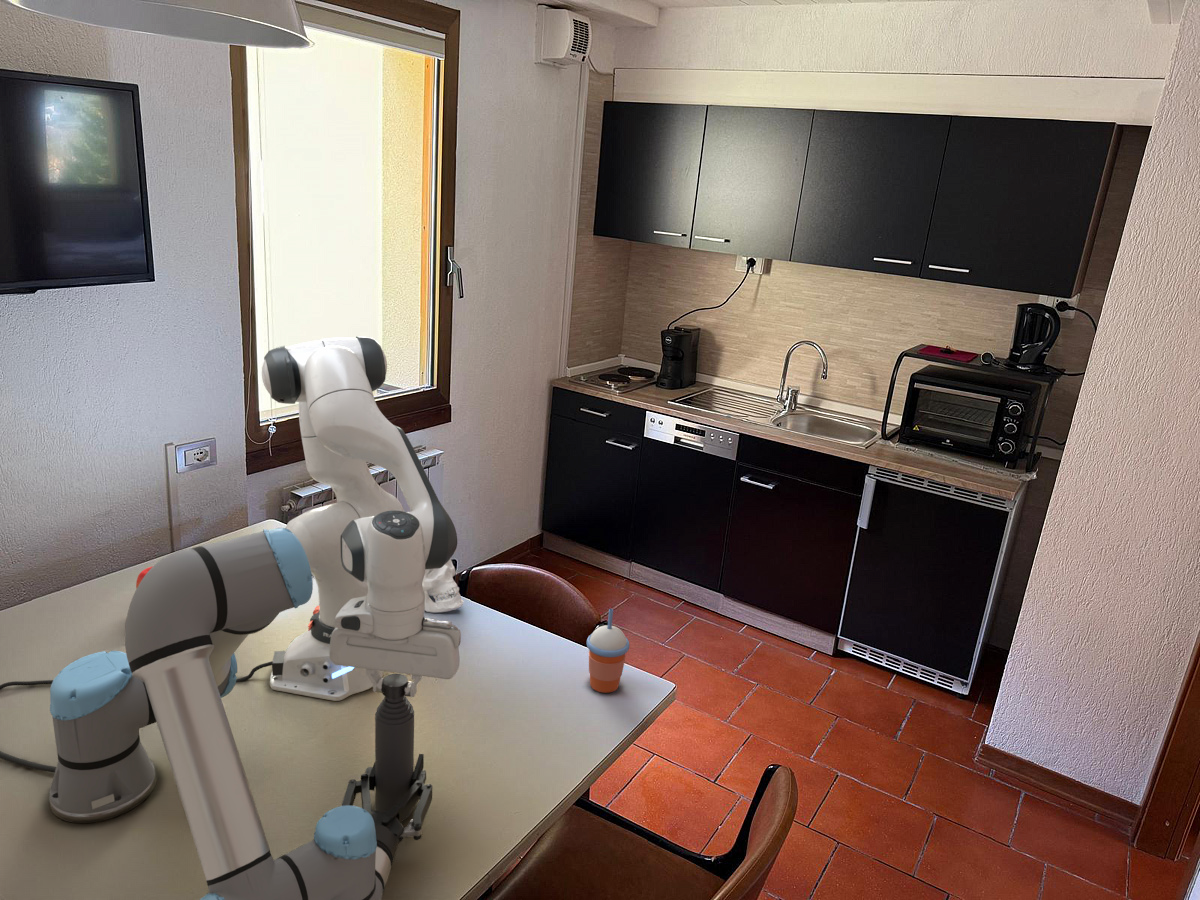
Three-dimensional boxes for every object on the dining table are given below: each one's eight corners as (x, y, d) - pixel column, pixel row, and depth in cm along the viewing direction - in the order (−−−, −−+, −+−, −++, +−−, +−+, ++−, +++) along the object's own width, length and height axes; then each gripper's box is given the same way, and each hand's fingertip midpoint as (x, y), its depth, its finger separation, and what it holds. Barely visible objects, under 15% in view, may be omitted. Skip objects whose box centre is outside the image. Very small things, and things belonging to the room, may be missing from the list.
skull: (448, 622, 203) (451, 561, 199) (372, 599, 211) (374, 540, 207) (477, 602, 215) (480, 543, 211) (405, 581, 223) (406, 524, 219)
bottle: (414, 819, 141) (416, 692, 134) (376, 825, 139) (376, 696, 132) (411, 794, 147) (413, 671, 140) (374, 799, 145) (374, 674, 138)
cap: (385, 683, 138) (385, 672, 138) (410, 685, 138) (410, 674, 138) (379, 698, 134) (379, 686, 134) (405, 699, 134) (405, 688, 134)
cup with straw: (621, 700, 178) (628, 623, 173) (578, 692, 180) (585, 616, 174) (628, 677, 187) (636, 603, 181) (588, 670, 188) (594, 596, 183)
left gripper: (300, 878, 125) (345, 774, 147) (431, 886, 125) (456, 781, 148) (299, 836, 123) (344, 736, 145) (432, 844, 123) (457, 744, 145)
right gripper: (466, 613, 135) (463, 689, 139) (340, 598, 136) (341, 674, 140) (455, 633, 129) (453, 712, 133) (324, 617, 130) (325, 695, 134)
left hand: (401, 759), depth 146 cm, fingers closed on bottle, 6 cm apart
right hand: (394, 692), depth 136 cm, fingers closed on cap, 4 cm apart
